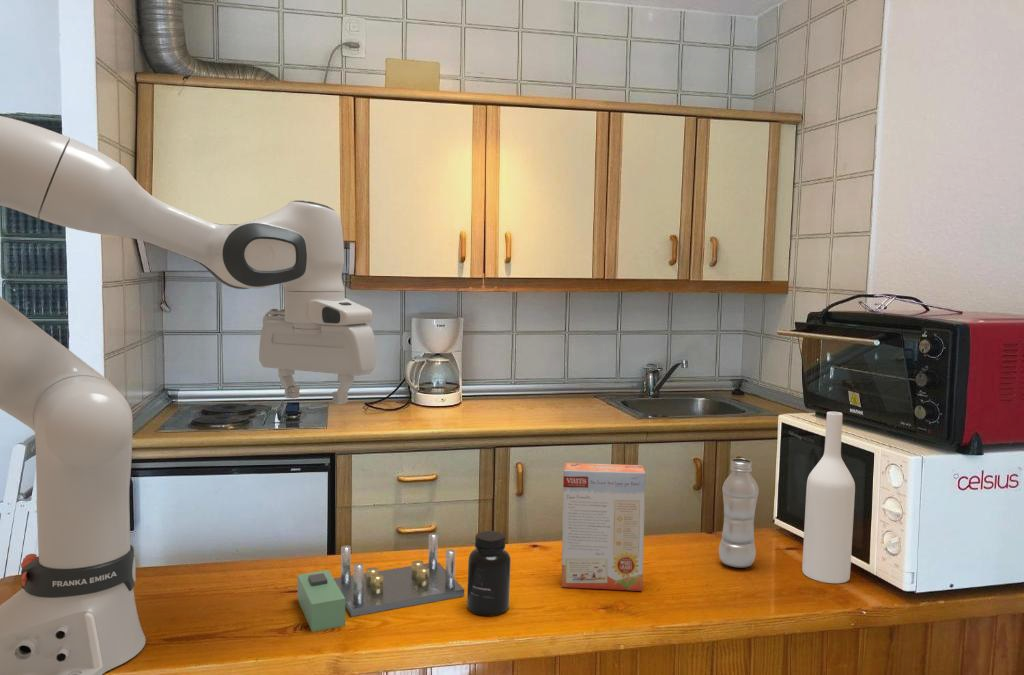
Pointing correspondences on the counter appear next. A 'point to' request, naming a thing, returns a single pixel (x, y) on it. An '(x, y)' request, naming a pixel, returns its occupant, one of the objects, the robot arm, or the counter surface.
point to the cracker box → (603, 526)
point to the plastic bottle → (739, 515)
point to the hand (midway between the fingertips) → (315, 400)
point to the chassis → (397, 583)
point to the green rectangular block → (321, 600)
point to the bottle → (829, 512)
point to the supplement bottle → (489, 575)
